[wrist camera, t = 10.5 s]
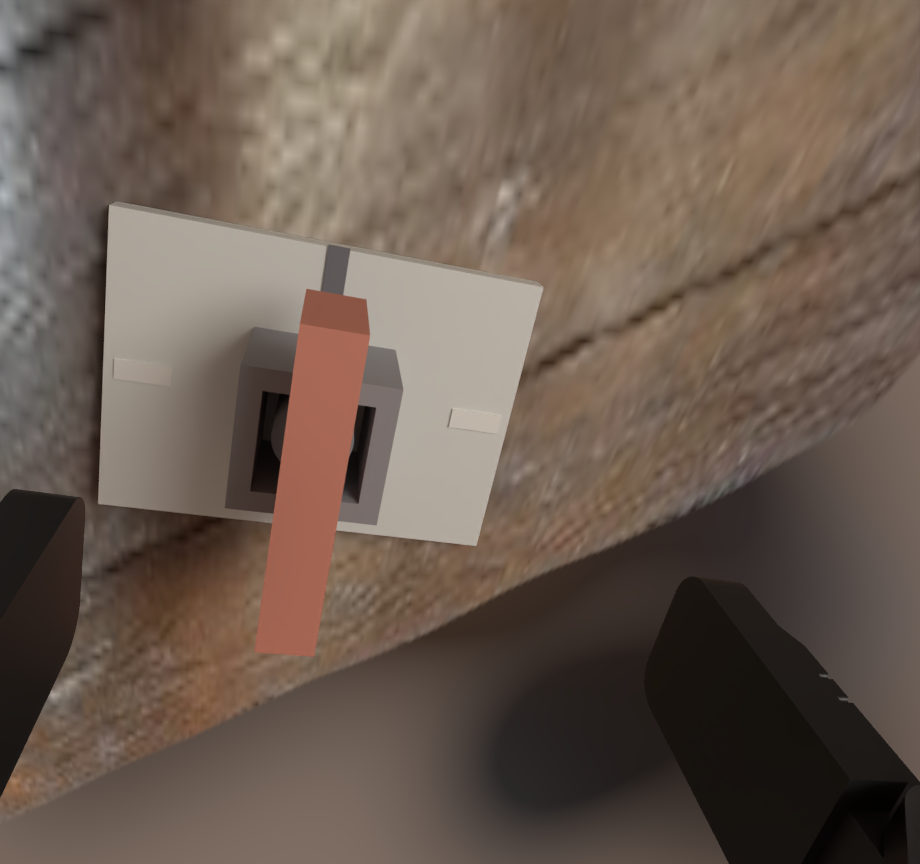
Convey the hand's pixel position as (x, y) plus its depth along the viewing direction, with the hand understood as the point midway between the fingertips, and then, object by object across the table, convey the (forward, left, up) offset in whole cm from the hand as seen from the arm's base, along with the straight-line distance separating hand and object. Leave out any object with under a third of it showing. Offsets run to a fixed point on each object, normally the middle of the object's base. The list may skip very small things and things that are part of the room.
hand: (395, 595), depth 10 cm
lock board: (-1, -8, -29) cm, 30 cm away
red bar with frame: (-1, -8, -27) cm, 29 cm away
